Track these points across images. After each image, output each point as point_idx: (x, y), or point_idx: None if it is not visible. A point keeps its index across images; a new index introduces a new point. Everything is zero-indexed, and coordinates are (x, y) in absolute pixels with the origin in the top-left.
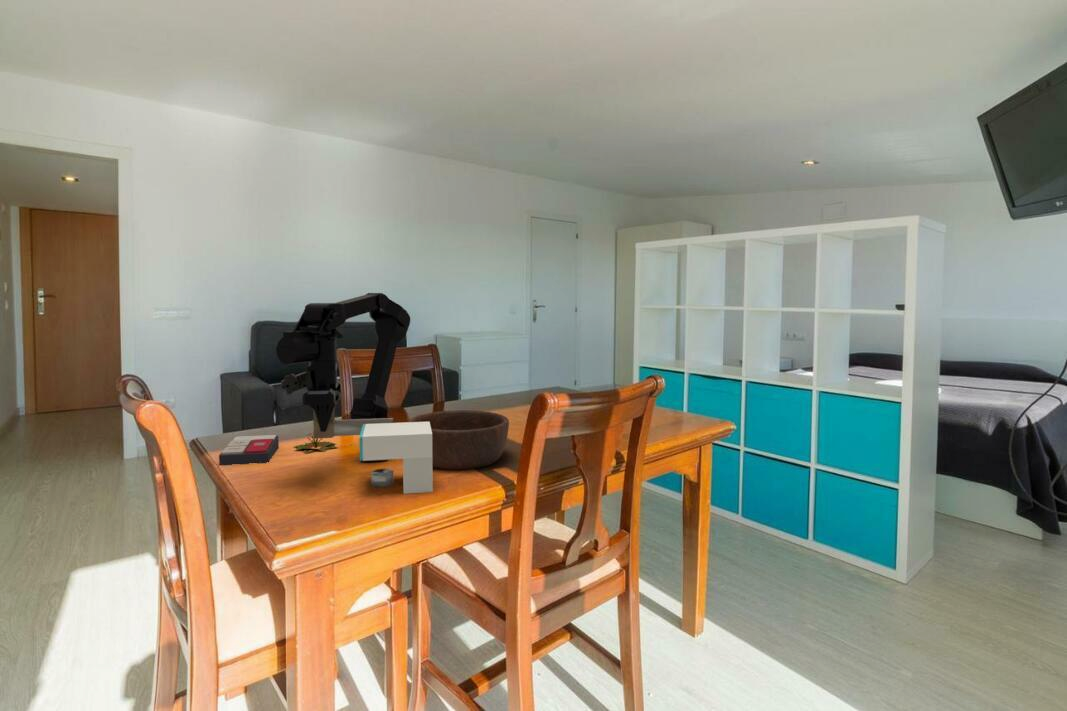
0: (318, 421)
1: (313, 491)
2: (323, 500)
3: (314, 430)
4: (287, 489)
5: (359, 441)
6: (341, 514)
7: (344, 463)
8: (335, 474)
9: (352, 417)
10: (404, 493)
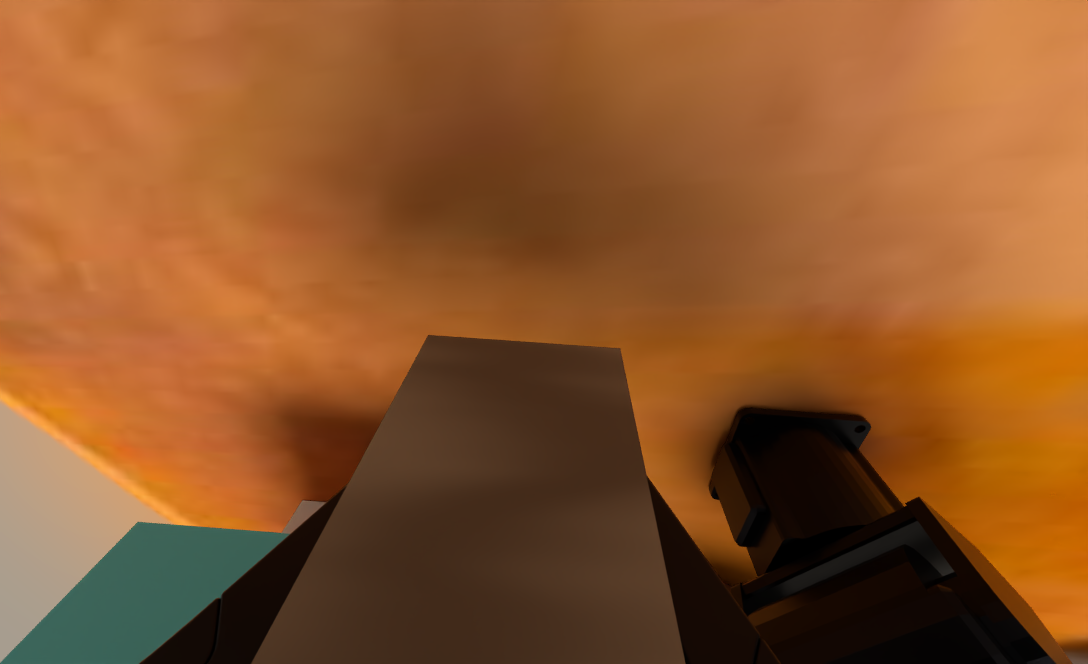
0: (281, 548)
1: (323, 216)
2: (202, 268)
3: (398, 397)
4: (357, 62)
5: (23, 641)
6: (64, 335)
7: (772, 341)
8: (586, 305)
9: (952, 642)
10: (302, 503)
